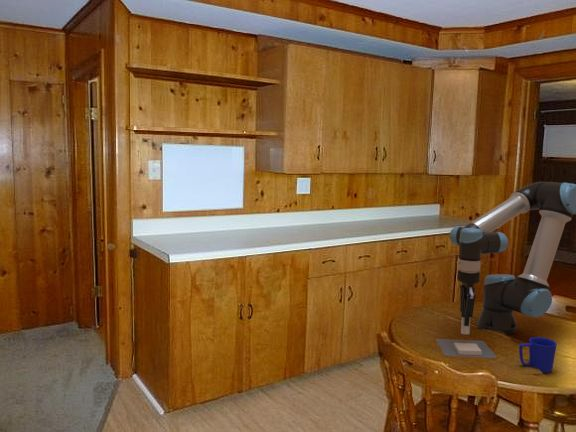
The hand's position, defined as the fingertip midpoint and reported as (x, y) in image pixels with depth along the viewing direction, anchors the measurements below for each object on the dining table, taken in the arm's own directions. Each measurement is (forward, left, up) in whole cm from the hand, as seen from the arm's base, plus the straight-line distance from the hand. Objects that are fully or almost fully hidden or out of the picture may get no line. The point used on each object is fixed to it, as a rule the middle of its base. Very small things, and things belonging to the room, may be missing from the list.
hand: (464, 333), depth 178 cm
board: (0, 0, -7) cm, 7 cm away
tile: (0, 0, -5) cm, 5 cm away
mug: (-20, +13, -7) cm, 25 cm away
